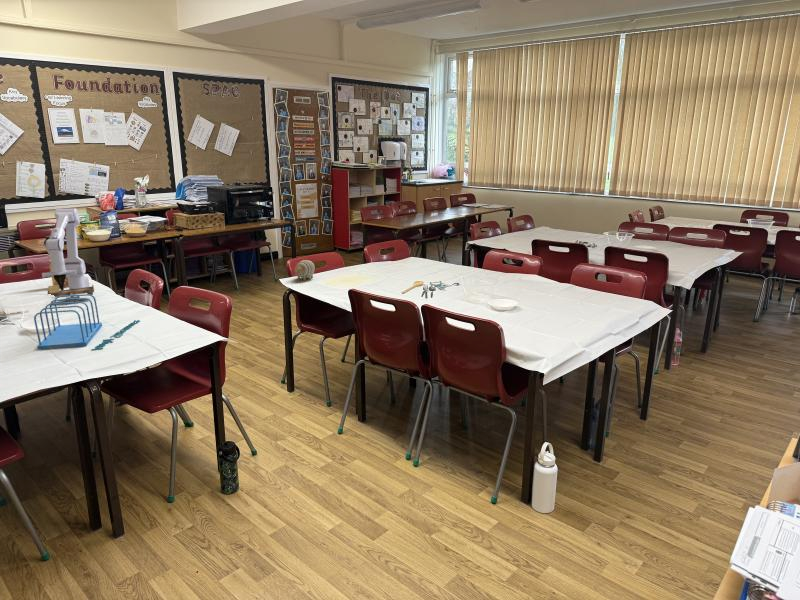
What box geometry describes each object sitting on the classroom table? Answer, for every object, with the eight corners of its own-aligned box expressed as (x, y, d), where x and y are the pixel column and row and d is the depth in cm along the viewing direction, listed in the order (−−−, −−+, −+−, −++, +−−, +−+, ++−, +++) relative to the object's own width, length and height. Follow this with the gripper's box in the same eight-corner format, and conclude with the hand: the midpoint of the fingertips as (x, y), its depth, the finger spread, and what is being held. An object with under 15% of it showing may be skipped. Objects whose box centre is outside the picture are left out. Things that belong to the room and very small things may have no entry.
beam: (48, 300, 275) (47, 293, 274) (49, 297, 281) (48, 290, 279) (94, 295, 285) (93, 287, 283) (94, 292, 290) (93, 284, 289)
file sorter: (58, 329, 242) (52, 295, 238) (102, 326, 246) (97, 293, 242) (37, 350, 219) (30, 312, 214) (86, 346, 223) (80, 309, 218)
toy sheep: (290, 281, 325) (289, 262, 322) (305, 274, 340) (304, 256, 337) (306, 282, 322) (306, 263, 319) (320, 276, 337) (320, 258, 334)
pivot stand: (65, 304, 277) (64, 294, 276) (66, 299, 286) (64, 288, 285) (79, 303, 280) (78, 292, 278) (79, 297, 289) (78, 287, 288)
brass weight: (49, 294, 276) (48, 287, 275) (49, 292, 279) (48, 286, 278) (59, 293, 278) (58, 286, 277) (59, 291, 281) (58, 284, 280)
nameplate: (88, 351, 218) (101, 351, 218) (88, 349, 218) (101, 349, 218) (132, 321, 254) (143, 321, 254) (132, 319, 253) (143, 320, 253)
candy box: (53, 288, 306) (48, 261, 302) (53, 286, 310) (49, 259, 306) (72, 286, 310) (67, 259, 306) (72, 285, 314) (67, 258, 309)
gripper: (39, 266, 269) (44, 293, 273) (74, 263, 276) (78, 289, 280) (40, 263, 275) (45, 290, 279) (74, 260, 282) (78, 286, 286)
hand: (62, 289), depth 280 cm, fingers closed
